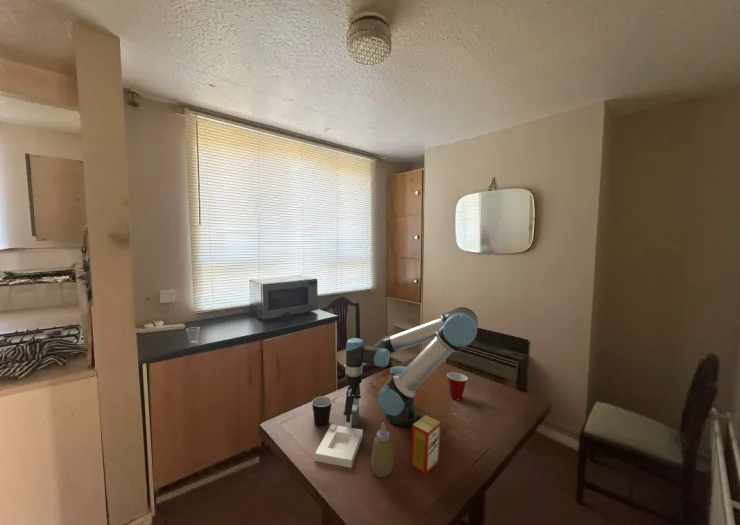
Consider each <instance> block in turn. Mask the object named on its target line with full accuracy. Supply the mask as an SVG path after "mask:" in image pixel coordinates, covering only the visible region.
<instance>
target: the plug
mask: <svg viewBox="0 0 740 525" xmlns="http://www.w3.org/2000/svg"><path fill="white" fill-rule="evenodd" d="M359 419H360V406H359V407H358V406H357V405H353V407H352V426H357V425H358V422H359Z"/></svg>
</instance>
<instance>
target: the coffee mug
mask: <svg viewBox="0 0 740 525" xmlns="http://www.w3.org/2000/svg"><path fill="white" fill-rule="evenodd" d="M332 402H333V401H332V399H331V397H328V396H324V395H323V396H317V397H315V398H313V399H312V401H311V403H312V404H311V405H312V412H313V413H312V414H313V423H314V426H315V427H317V428H325V427H327V426H328V425H329V423H330V416H331V410H332V404H333V403H332Z"/></svg>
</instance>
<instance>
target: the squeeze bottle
mask: <svg viewBox="0 0 740 525" xmlns="http://www.w3.org/2000/svg"><path fill="white" fill-rule="evenodd" d="M386 426H387V425H386V423H385V422H382V423H381V426H380V429H379V430H377V431H376V436H375V437H374V438H373V442H372V444H373V445H372V450H371V451H372V454H371V459H370V464H371V467H372V471H373V473H374V475H375V476H376V477H378V478H383V479H384V478H387V477H388V476H389V475H390V474H391V471H392V469H393V466H394V453H393V452H394V450H393V440H392V437H390V436H391V435H390V431H388V430H387V427H386Z"/></svg>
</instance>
